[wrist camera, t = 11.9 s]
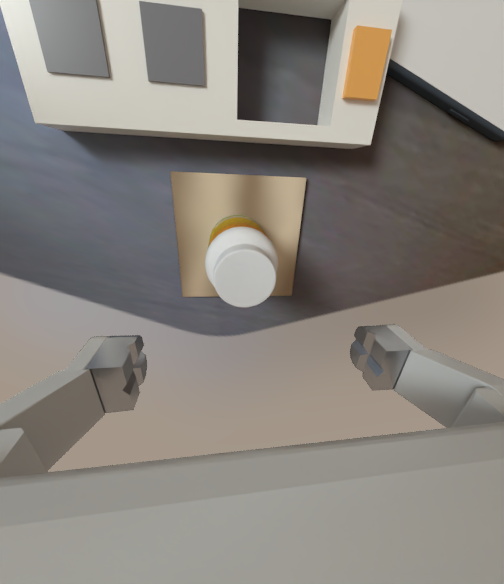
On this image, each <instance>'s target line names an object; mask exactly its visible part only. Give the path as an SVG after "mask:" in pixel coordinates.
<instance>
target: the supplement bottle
mask: <svg viewBox="0 0 504 584" xmlns="http://www.w3.org/2000/svg"><path fill="white" fill-rule="evenodd" d="M205 268H206V273H207V276H208V278H209V280H210V282H211V283H212V285H213V286H214V287H215V290H216V292H217V293H218V295H219V296H220V297H221V298H222V299H223V300H224V301H225V302H227V303H228V304H230V305H233V306H236V307H251V306H255V305H258V304H260V303H261V302H263V301H264V300H266V299H267V298H268V297H269V296H270V294H271V293H272V291H273V289H274V287H275V284H276V272H277V268H278V258H277V253H276V250H275V248H274V246H273V244H272V242H271V241H270V239H269V238H268V237H267V235H266V234H265V233H264V231H263V230H262V228H261V227H260V226H259V225H258V223H257V222H255V221H254V220H253V219H251V218H250V217H247V216H244V215H230V216H227V217H225V218H223V219H221V220H220V221H219V222H218V223H217V224H216V225H215V227H214V228H213V230H212V232H211V235H210V239H209V245H208V249H207V253H206V259H205Z"/></svg>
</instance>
